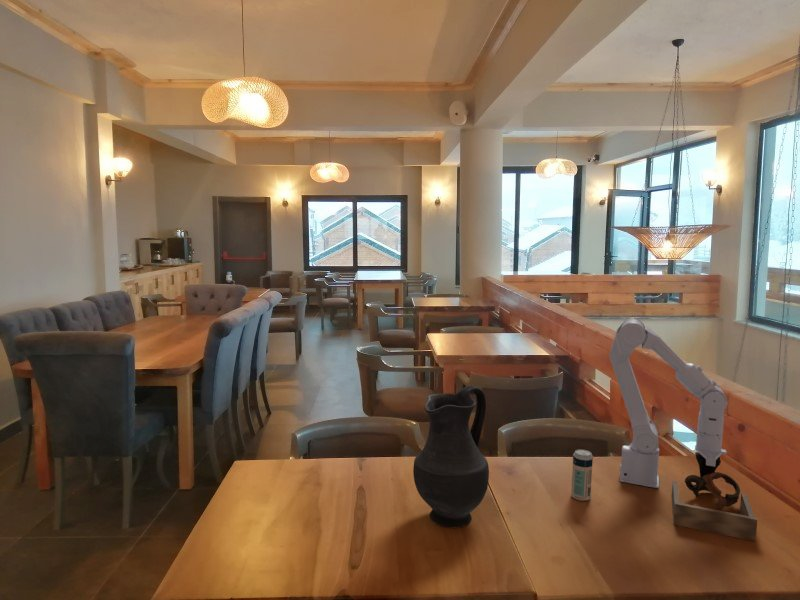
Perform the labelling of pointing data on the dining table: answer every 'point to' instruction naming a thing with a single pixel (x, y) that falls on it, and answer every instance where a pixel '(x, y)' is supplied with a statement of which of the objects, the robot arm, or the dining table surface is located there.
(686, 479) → the brown hollow ring part
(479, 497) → the pitcher
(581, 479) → the supplement bottle
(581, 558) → the dining table surface
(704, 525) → the box
